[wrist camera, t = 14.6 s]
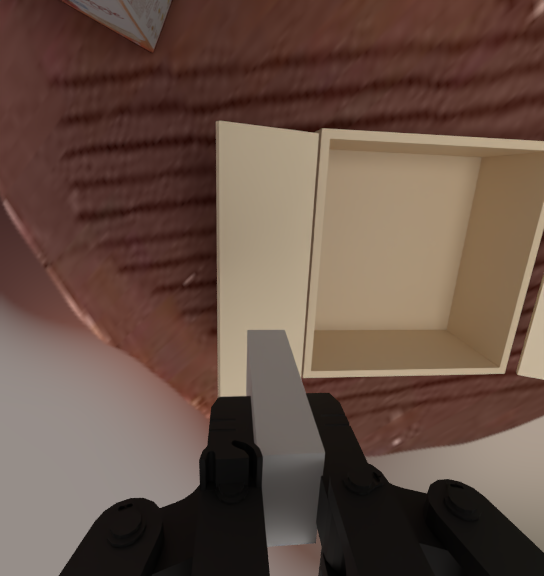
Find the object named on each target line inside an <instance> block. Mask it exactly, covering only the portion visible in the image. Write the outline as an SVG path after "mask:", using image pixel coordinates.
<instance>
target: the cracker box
mask: <svg viewBox="0 0 544 576" xmlns="http://www.w3.org/2000/svg"><path fill="white" fill-rule="evenodd" d="M60 1H62V2H64V3H66V4H67V5H69V6H71V7H73V8H74V9H76V10H78V11H80V12H81V13H83V14H85V15H87V16H88V17H90V18H92V19H94V20H95V21H97V22H99V23H100V24H102V25H104V26H106V27H107V28H109V29H111V30H113V31H115V32H116V33H118V34H120V35H122V36H123V37H125V38H127V39H129V40H130V41H132V42H134V43H136V44H137V45H139V46H141V47H143V48H144V49H146V50H148V51H150V52H152V53H153V52H154V49H155V46H156V44H157V41H158V38H159V35H160V33H161V30H162V27H163V24H164V22H165V19H166V16H167V13H168V10H169V7H170V5H171V2H172V0H60Z"/></svg>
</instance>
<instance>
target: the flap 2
mask: <svg viewBox="0 0 544 576" xmlns="http://www.w3.org/2000/svg"><path fill="white" fill-rule="evenodd" d="M516 373H517V375H522V376H527V377H533V378H538V379H544V275H543V278H542V282H541V285H540V289H539V292H538V296H537V300H536V303H535V307H534V310H533V314H532V317H531V321H530V324H529V328H528V331H527V335H526V339H525V342H524V346H523V349H522V353H521V356H520V360H519V363H518V367H517V371H516Z"/></svg>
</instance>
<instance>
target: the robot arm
mask: <svg viewBox="0 0 544 576" xmlns="http://www.w3.org/2000/svg"><path fill="white" fill-rule="evenodd" d="M199 468H200V485H199V486H198V487H197V489H196V490H195V491H194V492H193V493H192V494H190V495H189V496H187V497H186V498H185V499H183V500H180V501H178V502H176V503H173V504H170V505H168V506H165V507H162V508H159V507H158V506H157V505H156V504H155V503H154V502H153V501H150V500H147V499H145V498H130V499H127V500H124V501H121V502H118V503H116V504H114V505H113V506H111V507H110V508H108V509H107V510H105V511H104V512H103V513H102V514H101V515H100V517H99V518H98V519H97V520H96V521H95V522H94V524H93V525H92V527H91V528H90V530H89V531H88V533H87V534H86V536H85V537H84V539H83V540H82V542H81V543H80V545H79V546H78V548H77V549H76V551H75V552H74V554H73V555H72V557H71V558H70V560H69V561H68V563H67V564H66V566H65V567H64V569H63V570H62V572H61V573H60V575H59V576H270V574H269V562H268V551H267V547H269V546H284V545H298V544H309V543H316V534H317V529H318V533H319V537H320V541H321V546H322V550H321V558H320V567H319V575H318V576H544V553H543V552H542V551H541V550H540V549H539V548H538V547H537V546H536V545H535V544H534V543H533V542H532V541H531V540H530V539H529V538H528V537H527V536H526V535H524V534H523V533H522V532H521V531H520V530H519V529H518V528H517V527H516V526H515V525H514V524H513V523H512V522H511V521H510V520H508V518H507V517H505V516H504V515H503V514H502V513H501V512H500V511H499V510H498V509H497V508H496V507H495V506H494V505H493V504H492V503H491V502H489V500H487V499H486V498H485V497H484V496H483V495H482V494H480V493H479V492H477V491H476V490H475V489H474V488H472V487H470V486H468V485H466V484H463V483H462V482H458V481H454V480H449V479H444V480H437V481H436V482H434V483H432V484H431V485H430V487H429V490H428V493H427V494H426V493H422V492H418V491H413V490H409V489H404V488H401V487H398V486H395V485H392V484H390V483H389V482H388V480H387V479H386V478H385V477H384V475H383V474H382V472H381V471H379V470H378V469H377V468H375V467H374V466H373V465H371V464H368V463H367V460H366V458H365V456H364V454H363V452H362V450H361V447H360V445H359V443H358V441H357V439H356V437H355V435H354V432H353V430H352V428H351V426H349V422H348V420H347V417H346V416H345V413H344V411H343V409H342V407H341V404H340V402H338V401H337V400H336V399H335V398H334V397H333V396H332V395H331V394H330V393H305V390H304V387H303V384H302V380H301V377H300V374H299V371H298V368H297V365H296V362H295V359H294V356H293V353H292V350H291V347H290V344H289V341H288V338H287V335H286V332H285V330H247V371H246V396H228V397H219V398H218V399H217V400H216V402H215V403H214V404H213V406H212V407H211V415H210V425H209V436H208V445H207V447H206V448H205V449H204V450H203V452H202V454H201V457H200V460H199Z"/></svg>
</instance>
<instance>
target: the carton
mask: <svg viewBox="0 0 544 576" xmlns="http://www.w3.org/2000/svg"><path fill="white" fill-rule="evenodd" d="M315 133H319V140H318V153H317V167H316V180H315V194H314V208H313V221H312V235H311V248H310V262H309V276H308V289H307V303H306V316H305V330H304V343H303V357H302V371H301V373H302V376H303V378H322V377H369V376H416V375H463V374H504V373H505V370H506V366H507V362H508V359H509V355H510V351H511V348H512V344H513V340H514V336H515V333H516V329H517V325H518V322H519V318H520V314H521V311H522V307H523V303H524V300H525V296H526V292H527V288H528V285H529V281H530V277H531V274H532V270H533V266H534V263H535V259H536V255H537V252H538V248H539V244H540V240H541V237H542V233H543V229H544V141H530V140H513V139H496V138H479V137H462V136H445V135H427V134H410V133H393V132H376V131H359V130H342V129H325V128H322V129H320V130H318V131H316V132H315Z"/></svg>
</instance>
